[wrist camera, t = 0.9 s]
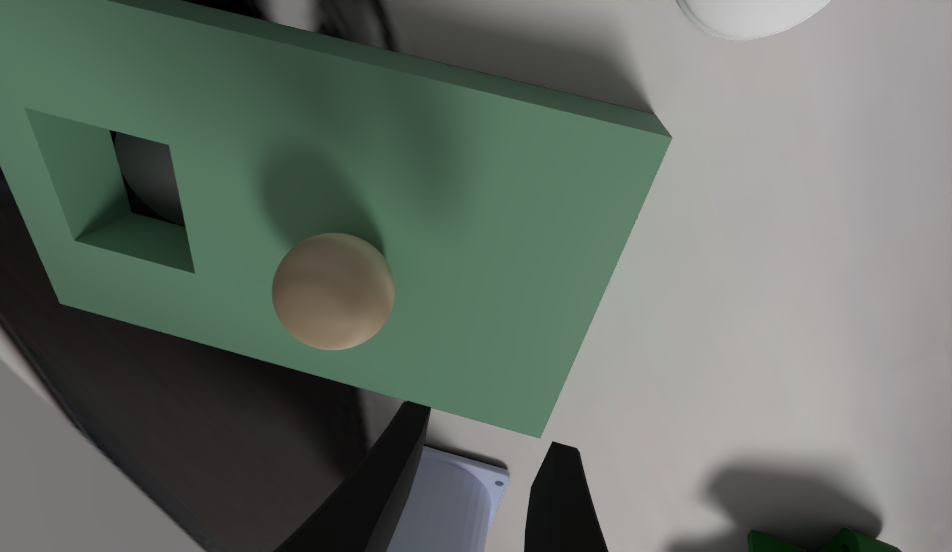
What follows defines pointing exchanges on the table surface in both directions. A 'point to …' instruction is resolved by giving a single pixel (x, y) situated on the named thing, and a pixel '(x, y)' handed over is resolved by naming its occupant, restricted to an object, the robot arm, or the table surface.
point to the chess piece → (748, 16)
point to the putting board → (319, 193)
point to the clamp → (845, 548)
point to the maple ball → (333, 291)
